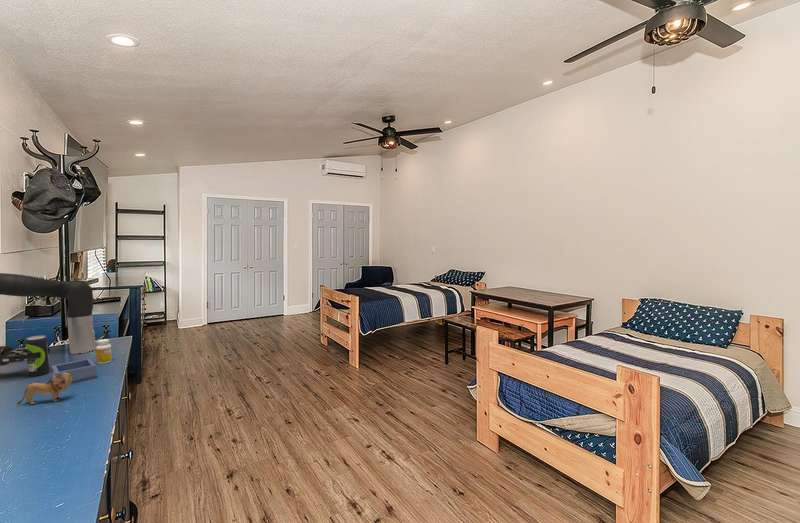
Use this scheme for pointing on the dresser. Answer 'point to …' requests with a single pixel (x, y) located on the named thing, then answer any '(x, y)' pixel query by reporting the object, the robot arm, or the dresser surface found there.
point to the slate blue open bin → (76, 370)
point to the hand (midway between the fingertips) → (45, 352)
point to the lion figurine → (48, 387)
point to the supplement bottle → (103, 351)
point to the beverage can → (37, 364)
